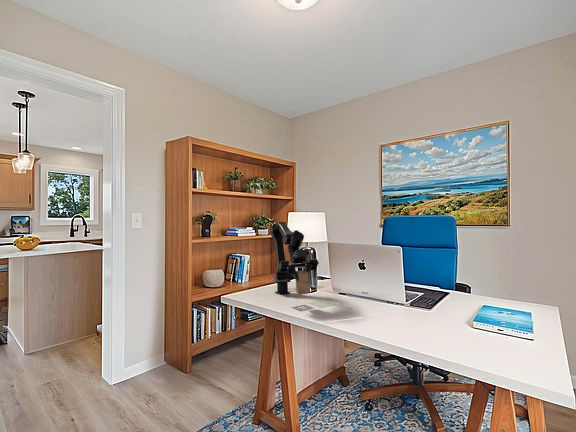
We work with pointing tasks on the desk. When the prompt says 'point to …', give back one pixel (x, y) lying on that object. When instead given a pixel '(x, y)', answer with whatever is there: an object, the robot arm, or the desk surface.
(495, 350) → the desk surface
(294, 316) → the desk surface
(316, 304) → the sage plate
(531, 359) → the desk surface
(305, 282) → the walnut block
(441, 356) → the desk surface
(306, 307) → the slate tile
